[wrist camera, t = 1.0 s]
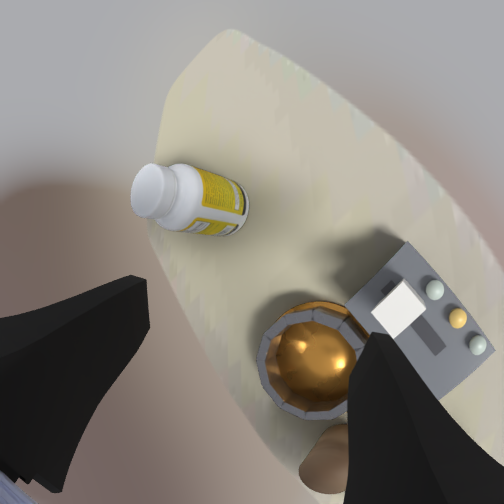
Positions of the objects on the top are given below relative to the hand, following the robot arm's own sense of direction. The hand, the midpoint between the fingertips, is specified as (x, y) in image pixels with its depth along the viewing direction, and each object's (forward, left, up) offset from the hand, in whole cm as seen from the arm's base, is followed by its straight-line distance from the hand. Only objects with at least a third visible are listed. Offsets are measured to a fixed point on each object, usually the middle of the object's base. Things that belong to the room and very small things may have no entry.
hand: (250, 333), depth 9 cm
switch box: (-6, -3, -15) cm, 16 cm away
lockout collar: (-3, +6, -15) cm, 16 cm away
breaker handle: (-3, -3, -11) cm, 12 cm away
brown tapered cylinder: (-11, +9, -15) cm, 20 cm away
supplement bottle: (+13, +3, -15) cm, 20 cm away
